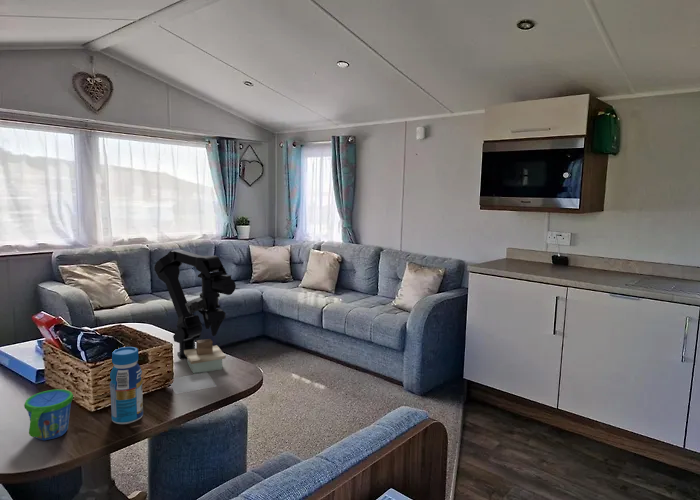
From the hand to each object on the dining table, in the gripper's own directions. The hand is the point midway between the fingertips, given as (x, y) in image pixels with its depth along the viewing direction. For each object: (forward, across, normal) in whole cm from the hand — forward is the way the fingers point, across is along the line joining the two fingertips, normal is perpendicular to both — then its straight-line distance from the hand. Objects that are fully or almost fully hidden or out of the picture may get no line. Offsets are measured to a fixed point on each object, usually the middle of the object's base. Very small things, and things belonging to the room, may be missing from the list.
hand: (210, 332), depth 174 cm
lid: (+8, +3, -3) cm, 9 cm away
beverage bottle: (+12, +30, -31) cm, 45 cm away
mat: (+12, +15, -10) cm, 22 cm away
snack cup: (+12, +30, -49) cm, 59 cm away
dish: (+12, +3, -3) cm, 13 cm away
